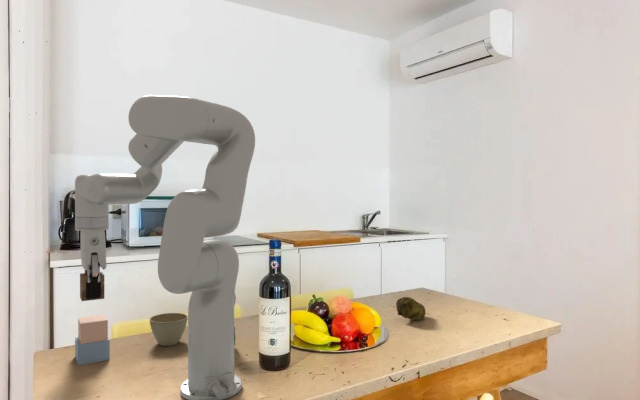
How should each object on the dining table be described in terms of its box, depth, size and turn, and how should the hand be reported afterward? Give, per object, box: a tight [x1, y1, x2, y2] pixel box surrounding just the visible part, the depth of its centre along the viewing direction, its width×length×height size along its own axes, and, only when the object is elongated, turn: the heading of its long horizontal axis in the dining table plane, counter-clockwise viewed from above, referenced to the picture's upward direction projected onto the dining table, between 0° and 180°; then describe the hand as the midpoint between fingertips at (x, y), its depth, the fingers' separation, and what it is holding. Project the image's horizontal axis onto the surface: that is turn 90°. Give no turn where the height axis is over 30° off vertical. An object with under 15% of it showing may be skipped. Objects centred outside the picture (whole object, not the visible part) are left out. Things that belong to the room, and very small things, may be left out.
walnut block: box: [79, 271, 105, 302], centre depth 113 cm, size 5×5×6 cm
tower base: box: [74, 336, 111, 366], centre depth 113 cm, size 7×7×5 cm
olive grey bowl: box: [149, 312, 188, 347], centre depth 124 cm, size 10×10×7 cm
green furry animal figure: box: [395, 296, 426, 322], centre depth 147 cm, size 8×13×8 cm, turn 119°
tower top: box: [77, 314, 109, 344], centre depth 113 cm, size 6×6×5 cm
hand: (92, 295), depth 113 cm, fingers closed on walnut block, 5 cm apart
